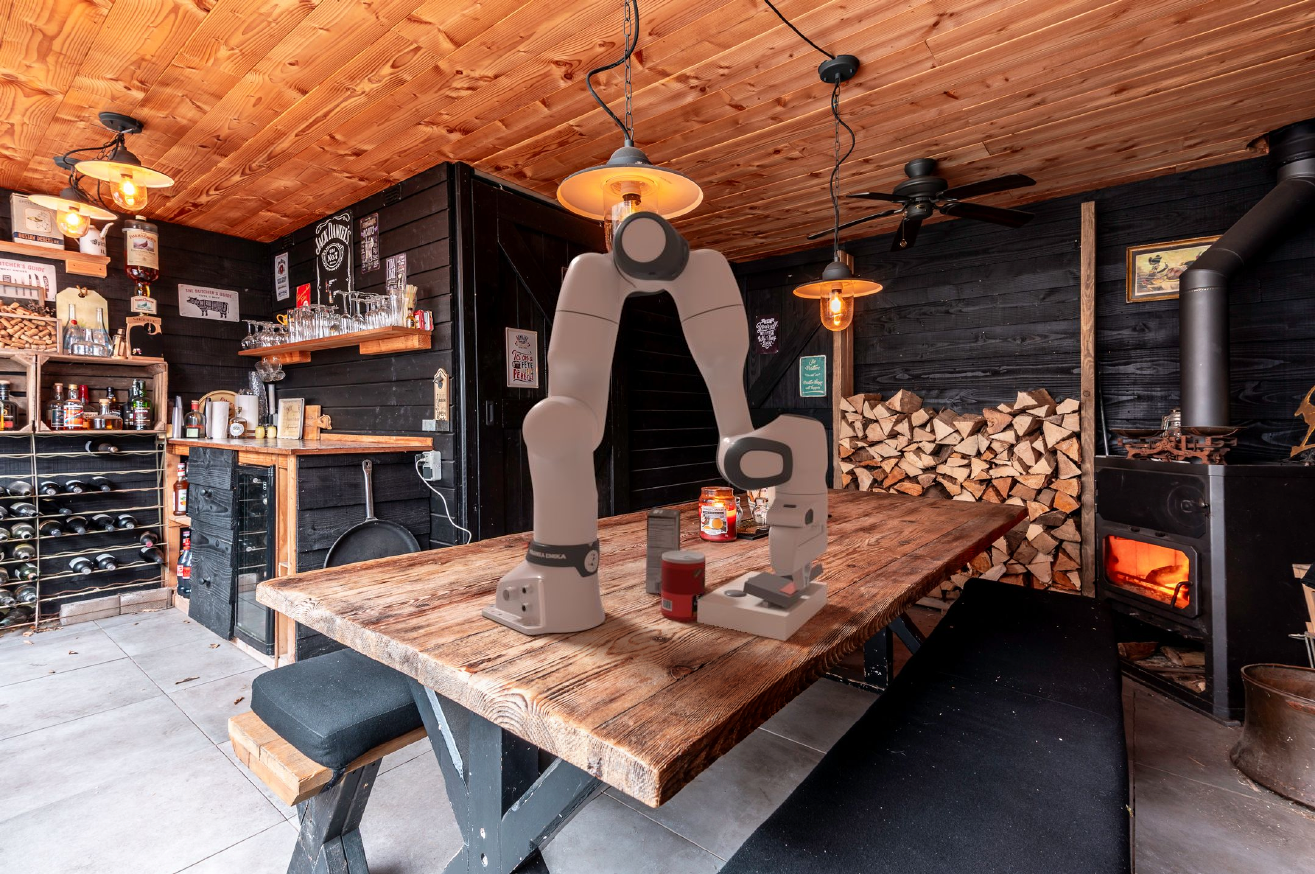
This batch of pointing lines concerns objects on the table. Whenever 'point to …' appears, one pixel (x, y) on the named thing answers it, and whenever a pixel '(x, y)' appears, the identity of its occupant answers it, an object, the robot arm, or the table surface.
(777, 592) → the rocker near
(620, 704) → the table surface
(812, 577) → the rocker far
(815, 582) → the beige flat block
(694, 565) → the canned food
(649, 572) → the coffee box
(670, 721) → the table surface
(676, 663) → the table surface
